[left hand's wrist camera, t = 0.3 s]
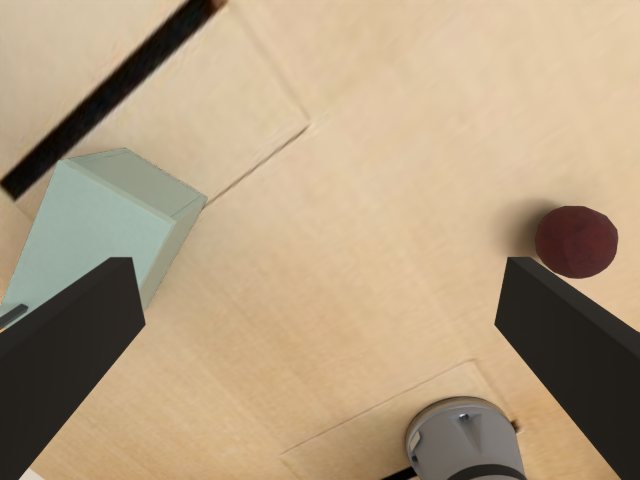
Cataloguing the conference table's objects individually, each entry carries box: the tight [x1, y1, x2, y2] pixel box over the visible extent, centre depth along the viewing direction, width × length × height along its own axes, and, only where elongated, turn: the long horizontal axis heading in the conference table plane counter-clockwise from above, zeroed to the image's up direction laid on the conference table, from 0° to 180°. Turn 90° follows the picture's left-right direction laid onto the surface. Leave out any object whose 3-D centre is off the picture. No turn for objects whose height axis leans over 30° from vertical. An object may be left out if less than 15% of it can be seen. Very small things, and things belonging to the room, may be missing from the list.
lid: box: [0, 159, 177, 330], centre depth 28 cm, size 18×10×9 cm, turn 147°
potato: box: [535, 206, 618, 279], centre depth 37 cm, size 7×8×7 cm
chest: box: [69, 148, 208, 313], centre depth 37 cm, size 17×10×9 cm, turn 147°
